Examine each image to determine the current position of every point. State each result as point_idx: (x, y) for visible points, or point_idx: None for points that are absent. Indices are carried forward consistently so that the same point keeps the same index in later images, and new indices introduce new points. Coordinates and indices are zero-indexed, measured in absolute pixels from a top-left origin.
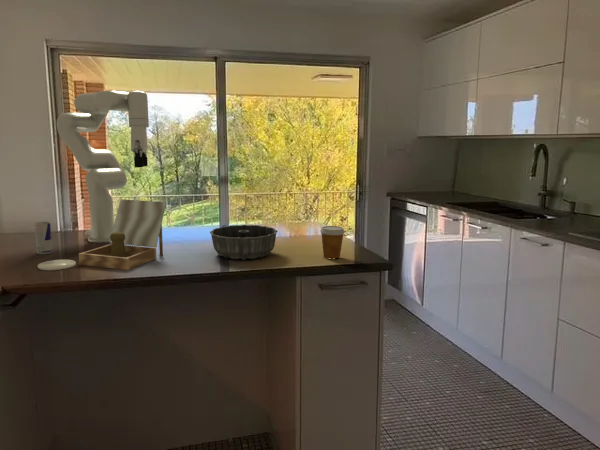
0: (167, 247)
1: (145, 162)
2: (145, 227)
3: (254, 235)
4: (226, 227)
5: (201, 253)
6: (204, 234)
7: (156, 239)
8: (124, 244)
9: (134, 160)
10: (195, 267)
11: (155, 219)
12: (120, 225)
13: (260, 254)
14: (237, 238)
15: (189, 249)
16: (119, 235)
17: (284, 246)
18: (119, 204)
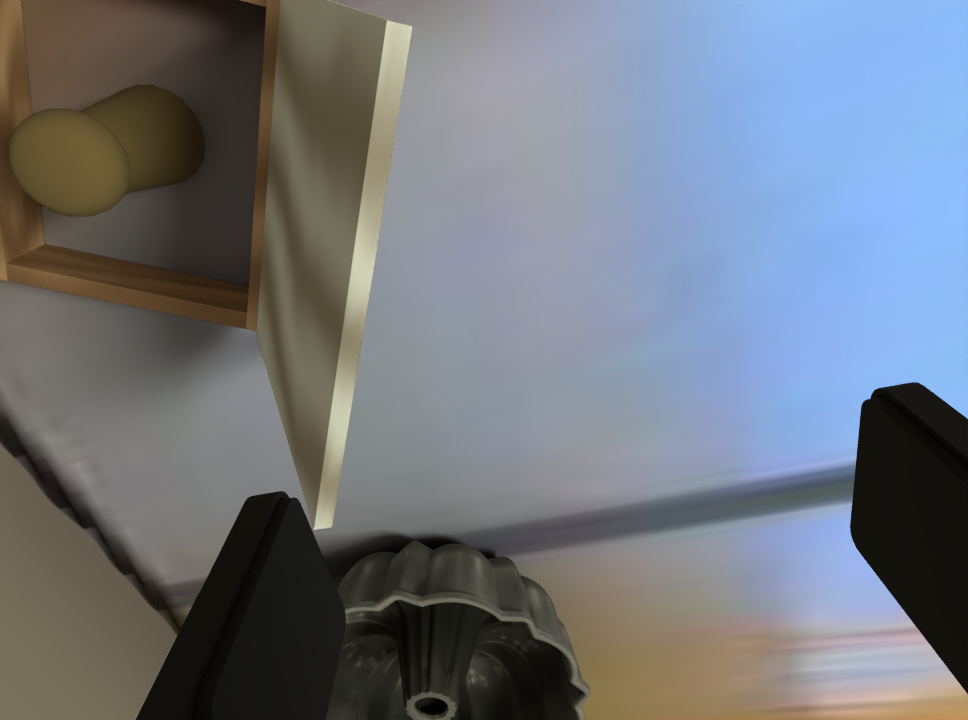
0: (541, 282)
1: (904, 582)
2: (283, 299)
3: (563, 681)
4: (531, 634)
5: (430, 470)
6: (915, 380)
7: (263, 354)
8: (129, 190)
9: (186, 632)
10: (188, 503)
11: (289, 392)
12: (304, 68)
13: (368, 683)
14: None
15: (506, 402)
16: (34, 198)
17: (603, 705)
18: (366, 18)
